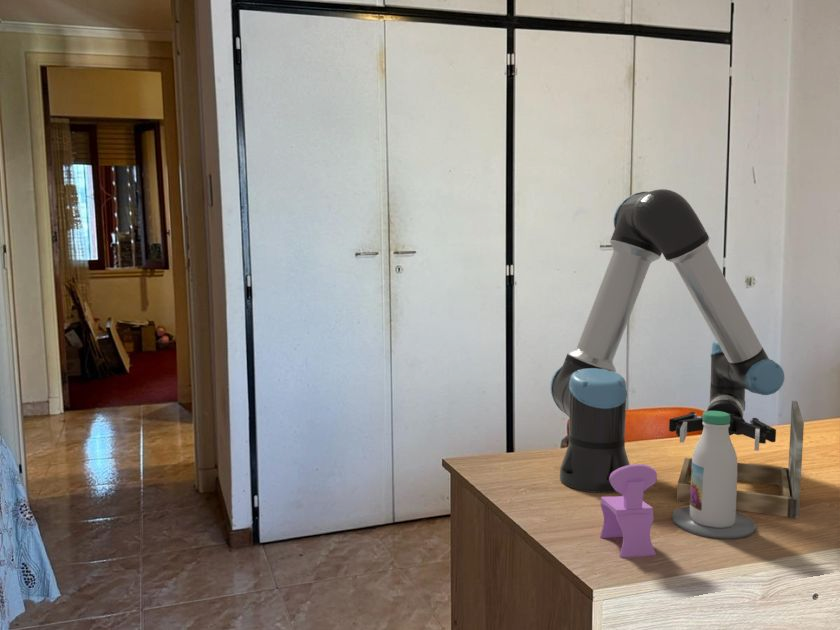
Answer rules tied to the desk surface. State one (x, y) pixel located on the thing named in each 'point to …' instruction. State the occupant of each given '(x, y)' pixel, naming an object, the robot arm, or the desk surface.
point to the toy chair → (630, 510)
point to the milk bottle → (714, 474)
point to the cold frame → (764, 478)
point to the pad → (738, 530)
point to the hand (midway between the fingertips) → (718, 439)
